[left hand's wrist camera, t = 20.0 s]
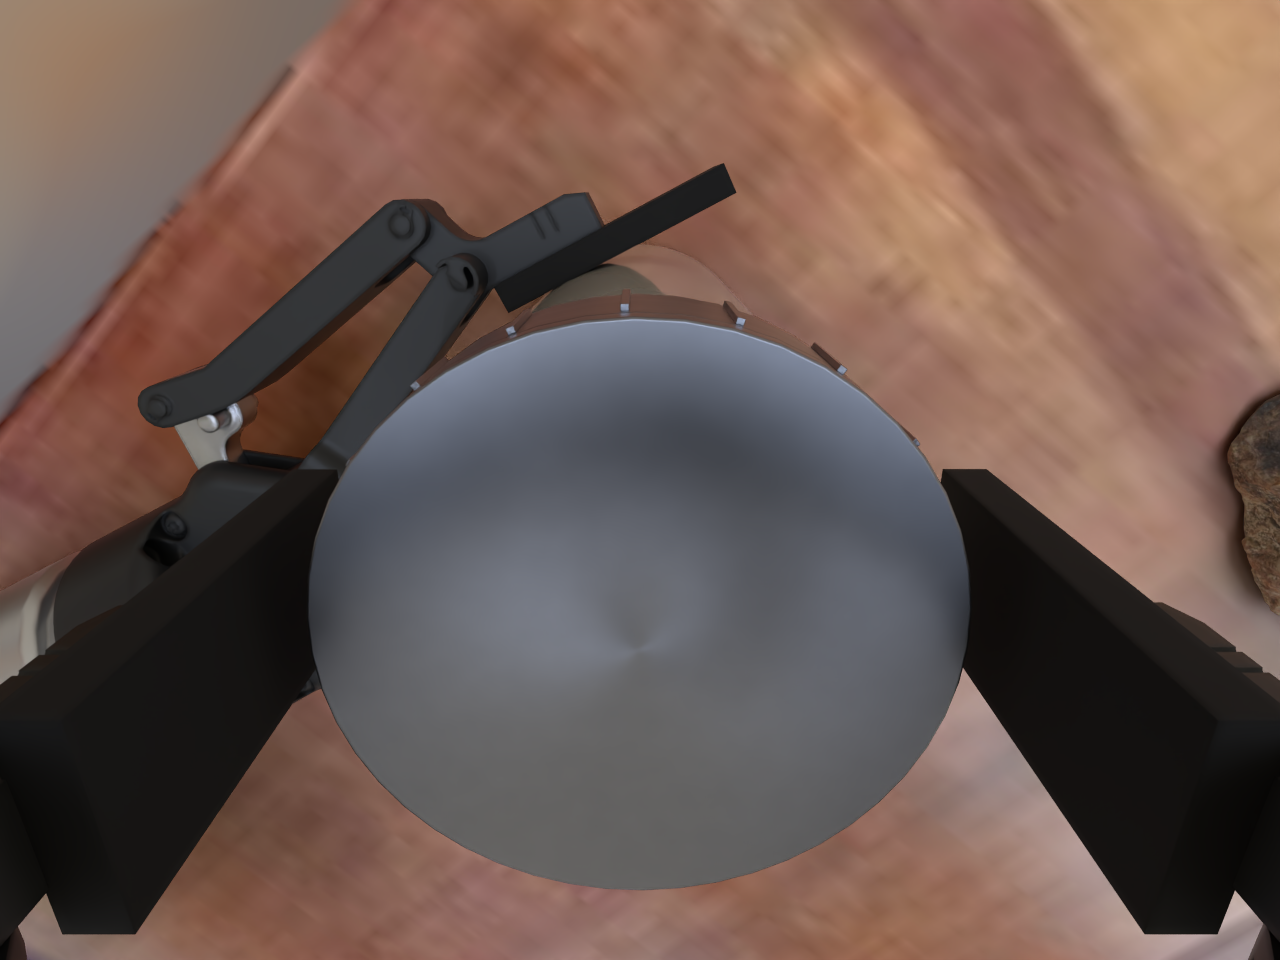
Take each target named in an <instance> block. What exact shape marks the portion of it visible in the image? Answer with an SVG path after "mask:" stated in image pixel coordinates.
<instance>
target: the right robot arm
mask: <svg viewBox="0 0 1280 960" xmlns="http://www.w3.org/2000/svg"><path fill="white" fill-rule="evenodd" d="M735 193H736V191H735V188H734V186H733V184H732V181H731V179H730V177H729V174H728V172H727V170H726V167H725V165H724V163H723V164H720V165H717V166H714V167H712V168H710V169H709V170H707V171H705V172H703V173H701V174H699V175H697V176H696V177H694V178H692V179H690V180H688V181H686V182H684V183H682V184H681V185H679V186H677V187H675V188H673V189H671V190H669V191H668V192H666V193H664V194H662V195H660V196H658V197H656V198H655V199H653V200H651V201H649V202H647V203H645V204H643V205H642V206H640V207H638V208H636V209H634V210H632V211H630V212H629V213H627V214H625V215H623V216H621V217H619V218H617V219H615V220H614V221H612V222H610V223H608V224H606V225H604V223H603V221H602V219H601V217H600V215H599V213H598V211H597V209H596V207H595V205H594V203H593V201H592V199H591V197H590V195H589V193H587V192H585V193H574V194H564V195H562V196H560V197H558V198H557V199H555V200H553V201H551V202H549V203H547V204H546V205H544V206H542V207H540V208H538V209H537V210H535V211H533V212H531V213H529V214H527V215H526V216H524V217H522V218H520V219H518V220H517V221H515V222H513V223H511V224H509V225H507V226H506V227H504V228H502V229H500V230H498V231H497V232H495V233H493V234H491V235H489V236H487V237H485V238H480V237H475V236H472V235H470V234H468V233H467V232H465V231H464V230H462V229H461V228H460V227H459V226H458V225H457V224H456V223H455V222H454V221H453V220H452V219H450V218H449V217H448V216H447V214H446V212H445V210H444V208H443V207H442V206H441V205H439V204H438V203H437V202H435V201H432V200H430V199H403V200H393V201H391V202H389V203H387V204H386V205H384V206H383V207H382V208H381V209H380V210H379V211H378V212H377V213H376V214H374V215H373V216H372V217H371V218H370V219H369V220H368V221H367V222H366V223H364V224H363V225H362V226H361V227H360V228H359V229H358V230H357V231H356V232H354V233H353V234H352V235H351V236H350V237H349V238H348V239H347V240H346V241H344V242H343V243H342V244H341V245H340V246H339V247H338V248H337V249H336V250H334V251H333V252H332V253H331V254H330V255H329V256H328V257H327V258H326V259H324V260H323V261H322V262H321V263H320V264H319V265H318V266H317V267H316V268H314V269H313V270H312V271H311V272H310V273H309V274H308V275H307V276H306V277H304V278H303V279H302V280H301V281H300V282H299V283H298V284H297V285H296V286H294V287H293V288H292V289H291V290H290V291H289V292H288V293H287V294H286V295H284V296H283V297H282V298H281V299H280V300H279V301H278V302H277V303H276V304H274V305H273V306H272V307H271V308H270V309H269V310H268V311H267V312H266V313H264V314H263V315H262V316H261V317H260V318H259V319H258V320H257V321H256V322H254V323H253V324H252V325H251V326H250V327H249V328H248V329H247V330H246V331H244V332H243V333H242V334H241V335H240V336H239V337H238V338H237V339H236V340H234V341H233V342H232V343H231V344H230V345H229V346H228V347H227V348H226V349H224V350H223V351H222V352H221V353H220V354H219V355H218V356H217V357H216V358H214V359H213V360H212V361H211V362H210V363H209V364H207V365H204V366H201V367H198V368H195V369H193V370H190V371H187V372H185V373H182V374H180V375H177V376H175V377H172V378H170V379H167V380H165V381H162V382H160V383H157V384H154V385H152V386H149V387H147V388H146V389H144V390H143V391H142V392H141V393H140V395H139V397H138V407H139V410H140V413H141V414H142V416H143V417H144V418H145V419H146V420H147V421H148V422H150V423H151V424H153V425H154V426H158V427H161V428H167V427H173V426H174V427H175V429H176V431H177V432H178V434H179V436H180V438H181V439H182V441H183V443H184V445H185V447H186V448H187V450H188V452H189V454H190V455H191V457H192V459H193V461H194V463H195V464H196V466H197V468H198V471H197V472H196V473H195V474H194V475H193V476H192V478H191V480H190V482H189V484H188V486H187V488H186V490H185V492H184V493H183V494H182V496H180V497H178V498H176V499H174V500H172V501H170V502H168V503H167V504H165V505H163V506H161V507H159V508H157V509H155V510H153V511H151V512H150V513H148V514H146V515H144V516H142V517H140V518H138V519H136V520H134V521H132V522H131V523H129V524H127V525H125V526H123V527H121V528H119V529H117V530H115V531H114V532H112V533H110V534H108V535H106V536H104V537H102V538H100V539H98V540H97V541H95V542H93V543H91V544H90V545H88V546H87V547H86V548H84V549H83V550H82V551H77V552H74V553H72V554H70V555H68V556H66V557H64V558H62V559H60V560H58V561H56V562H55V563H53V564H51V565H49V566H47V567H45V568H43V569H41V570H39V571H37V572H35V573H34V574H32V575H30V576H28V577H26V578H24V579H22V580H20V581H18V582H16V583H15V584H13V585H11V586H9V587H7V588H5V589H3V590H1V591H0V684H2V683H3V682H4V681H6V680H7V679H8V678H9V677H11V676H18V674H19V670H20V669H21V668H22V667H24V666H25V665H26V664H28V663H29V662H30V661H32V660H33V659H34V658H35V657H37V656H38V655H45V650H46V649H47V648H48V647H50V646H51V645H52V644H54V643H55V642H56V641H58V640H59V639H60V638H62V637H63V636H64V635H65V634H67V633H68V632H69V631H71V630H72V629H73V628H75V627H76V626H77V625H79V624H81V623H83V622H85V621H87V620H90V619H92V618H94V617H96V616H98V615H100V614H102V613H104V612H106V611H108V610H110V609H112V608H114V607H116V606H118V605H124V604H125V603H126V602H127V601H129V600H130V599H131V598H132V597H134V596H135V595H136V594H137V593H139V592H140V591H141V590H143V589H144V588H145V587H146V586H148V585H149V584H150V583H151V582H153V581H154V580H155V579H156V578H158V577H159V576H160V575H161V574H163V573H164V572H165V571H166V570H168V569H169V568H170V567H171V566H173V565H174V564H175V563H176V562H178V561H179V560H180V559H181V558H183V557H184V556H185V555H186V554H188V553H189V552H190V551H191V550H193V549H194V548H195V547H197V546H198V545H199V544H200V543H202V542H203V541H204V540H205V539H207V538H208V537H209V536H210V535H212V534H213V533H214V532H215V531H217V530H218V529H219V528H220V527H222V526H223V525H224V524H225V523H227V522H228V521H229V520H230V519H232V518H233V517H234V516H235V515H237V514H238V513H239V512H240V511H242V510H243V509H244V508H245V507H247V506H248V505H249V504H250V503H252V502H253V501H254V500H256V499H257V498H258V497H259V496H261V495H262V494H263V493H264V492H266V491H267V490H268V489H269V488H271V487H272V486H273V485H274V484H276V483H277V482H278V481H279V480H281V479H282V478H283V477H284V476H286V475H287V474H288V473H289V472H291V471H292V470H293V469H337V471H338V478H339V480H340V478H341V476H342V474H343V472H344V470H345V468H346V467H347V466H346V463H347V461H348V460H349V459H350V458H351V457H352V456H353V455H354V454H355V453H356V452H357V451H358V450H359V449H360V447H361V446H362V445H363V443H364V442H365V441H366V439H367V438H368V437H369V435H370V434H371V433H372V431H373V430H374V429H375V428H376V427H377V426H378V425H379V424H380V423H381V422H382V421H383V420H384V419H385V418H386V417H387V416H388V415H389V414H390V413H391V412H392V411H393V410H394V409H395V408H396V407H397V406H398V405H399V404H400V403H401V402H402V401H404V400H405V399H406V398H407V397H408V396H409V395H410V394H411V393H412V392H414V390H413V389H412V388H411V387H410V385H411V384H412V383H414V382H415V381H416V380H417V379H418V378H420V377H421V376H422V375H423V374H424V373H426V372H427V371H428V370H429V369H430V368H432V367H433V366H434V365H435V364H436V363H437V362H439V361H440V360H441V359H442V358H443V357H444V356H445V355H446V354H447V352H448V351H449V349H450V348H451V347H452V345H453V344H454V342H455V341H456V340H457V338H458V337H459V335H460V334H461V333H462V331H463V330H464V328H465V327H466V326H467V324H468V323H469V321H470V320H471V319H472V317H473V316H474V314H475V313H476V312H477V310H478V309H479V307H480V306H481V305H482V303H483V302H484V300H485V299H486V298H487V296H488V295H489V293H490V292H491V291H492V289H493V288H495V290H496V291H497V293H498V295H499V297H500V299H501V300H502V302H503V304H504V306H505V307H506V309H507V311H508V313H510V312H511V311H513V310H515V309H517V308H519V307H521V306H523V305H525V304H527V303H528V302H530V301H532V300H534V299H536V298H538V297H540V296H542V295H544V294H545V293H547V292H549V291H551V290H553V289H555V288H557V287H559V286H561V285H563V284H564V283H566V282H568V281H570V280H572V279H574V278H576V277H578V276H580V275H581V274H583V273H585V272H587V271H589V270H591V269H593V268H595V267H597V266H598V265H600V264H602V263H604V262H606V261H608V260H610V259H612V258H614V257H616V256H617V255H619V254H621V253H623V252H625V251H627V250H629V249H631V248H633V247H634V246H636V245H638V244H640V243H642V242H644V241H646V240H648V239H650V238H651V237H653V236H655V235H657V234H659V233H661V232H663V231H665V230H667V229H669V228H670V227H672V226H674V225H676V224H678V223H680V222H682V221H684V220H686V219H687V218H689V217H691V216H693V215H695V214H697V213H699V212H701V211H703V210H704V209H706V208H708V207H710V206H712V205H714V204H716V203H718V202H720V201H722V200H723V199H725V198H727V197H729V196H731V195H733V194H735ZM415 262H417V263H418V264H420V265H421V266H422V267H423V268H424V269H425V270H426V271H428V272H429V273H430V274H431V275H432V276H433V277H432V278H431V280H430V281H429V283H428V284H427V286H426V287H425V289H424V290H423V292H422V293H421V294H420V296H419V297H418V299H417V300H416V302H415V303H414V305H413V306H412V308H411V309H410V311H409V312H408V313H407V315H406V316H405V318H404V319H403V321H402V322H401V324H400V325H399V327H398V328H397V330H396V331H395V332H394V334H393V335H392V337H391V338H390V340H389V341H388V343H387V344H386V346H385V347H384V349H383V350H382V352H381V353H380V354H379V356H378V357H377V359H376V360H375V362H374V363H373V365H372V366H371V368H370V369H369V371H368V372H367V373H366V375H365V376H364V378H363V379H362V381H361V382H360V384H359V385H358V387H357V388H356V390H355V391H354V392H353V394H352V395H351V397H350V398H349V400H348V401H347V403H346V404H345V406H344V407H343V409H342V410H341V411H340V413H339V414H338V416H337V417H336V419H335V420H334V422H333V423H332V425H331V426H330V428H329V429H328V431H327V432H326V433H325V435H324V436H323V438H322V439H321V440H320V442H319V443H318V444H317V445H316V446H315V447H314V448H313V449H312V450H311V452H310V453H309V454H308V455H307V457H306V458H305V459H304V458H298V457H291V456H284V455H277V454H271V453H264V452H257V451H251V450H243V449H242V446H241V444H240V436H241V432H242V431H243V429H244V428H245V427H247V426H248V425H249V424H251V423H252V422H253V421H254V420H255V418H256V416H257V407H258V399H257V397H256V396H255V395H254V393H256V392H258V391H259V390H261V389H263V388H265V387H267V386H269V385H270V384H272V383H274V382H276V381H277V380H279V379H280V378H281V377H283V376H284V375H285V374H287V373H288V372H289V371H290V370H291V369H293V368H294V367H295V366H296V365H297V364H298V363H300V362H301V361H302V360H303V359H304V358H305V357H307V356H308V355H309V354H310V353H311V352H312V351H313V350H315V349H316V348H317V347H318V346H319V345H320V344H322V343H323V342H324V341H325V340H326V339H327V338H328V337H330V336H331V335H332V334H333V333H334V332H335V331H337V330H338V329H339V328H340V327H341V326H342V325H343V324H345V323H346V322H347V321H348V320H349V319H350V318H352V317H353V316H354V315H355V314H356V313H357V312H358V311H360V310H361V309H362V308H363V307H364V306H365V305H367V304H368V303H369V302H370V301H371V300H372V299H374V298H375V297H376V296H377V295H378V294H379V293H380V292H382V291H383V290H384V289H385V288H386V287H387V286H389V285H390V284H391V283H392V282H393V281H394V280H395V279H397V278H398V277H399V276H400V275H401V274H402V273H404V272H405V271H406V270H407V269H408V268H409V267H410V266H412V265H413V264H414V263H415ZM319 689H321V685H320V682H319V678H318V675H317V671H316V670H315V671H314V673H313V674H312V676H311V677H310V678H309V680H308V681H307V683H306V684H305V686H304V687H303V689H302V690H301V692H300V693H299V695H298V696H297V698H296V699H295V700H294V702H293V703H295V702H296V701H298V700H300V699H302V698H303V697H305V696H307V695H309V694H310V693H312V692H314V691H316V690H319ZM293 703H292V704H293Z"/></svg>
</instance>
